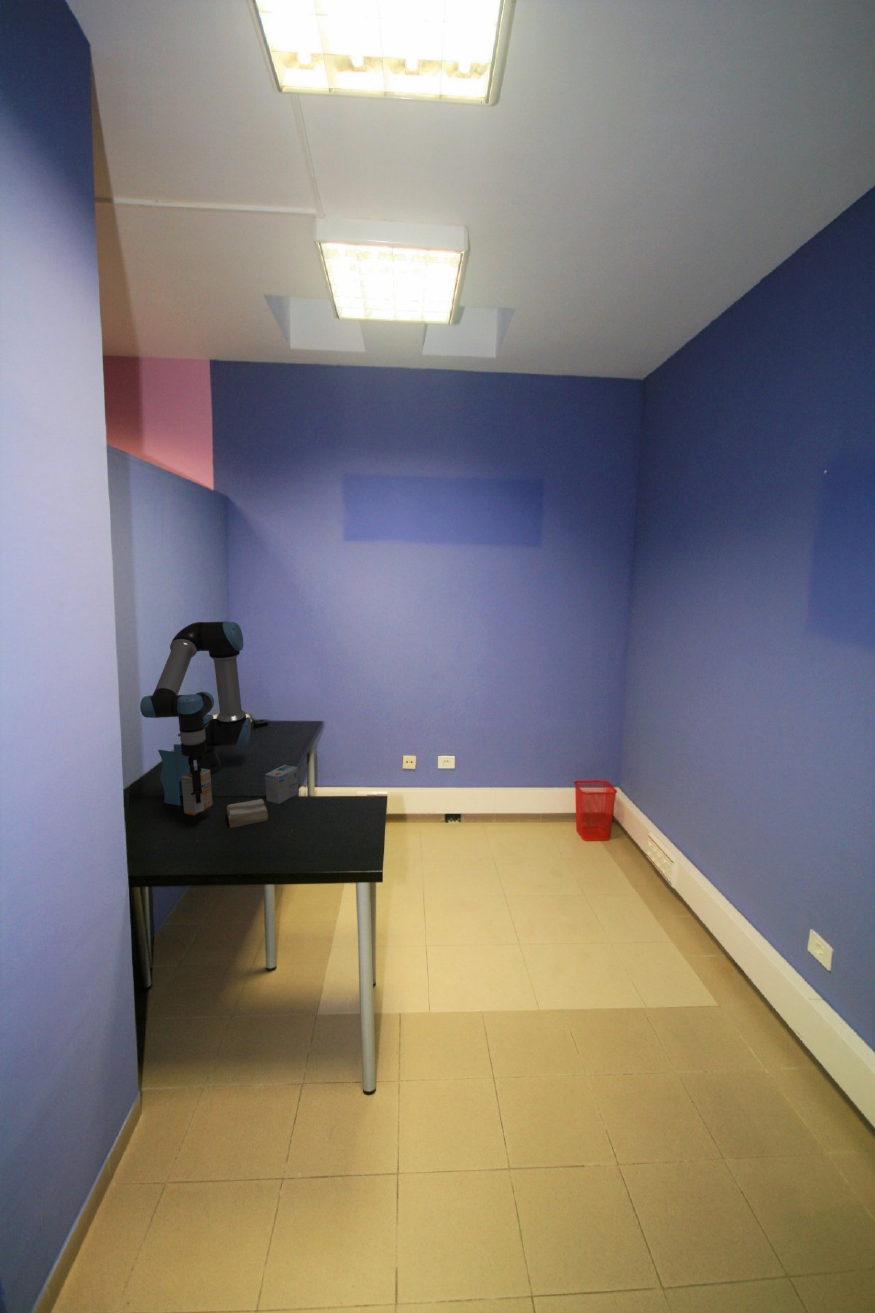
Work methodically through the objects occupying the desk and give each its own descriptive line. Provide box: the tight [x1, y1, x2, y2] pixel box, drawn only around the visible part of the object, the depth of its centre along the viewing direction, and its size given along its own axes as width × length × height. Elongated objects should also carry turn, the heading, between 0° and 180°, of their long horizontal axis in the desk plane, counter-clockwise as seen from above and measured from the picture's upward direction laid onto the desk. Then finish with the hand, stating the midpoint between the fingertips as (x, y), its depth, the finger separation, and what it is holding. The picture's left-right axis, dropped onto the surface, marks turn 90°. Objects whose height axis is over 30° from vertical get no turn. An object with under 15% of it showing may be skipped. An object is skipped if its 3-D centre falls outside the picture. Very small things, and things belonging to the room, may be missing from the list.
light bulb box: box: [264, 764, 299, 805], centre depth 195 cm, size 11×7×11 cm, turn 154°
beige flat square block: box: [226, 798, 269, 828], centre depth 179 cm, size 10×12×4 cm
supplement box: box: [181, 768, 213, 816], centre depth 175 cm, size 8×5×13 cm, turn 160°
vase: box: [157, 743, 190, 806], centre depth 192 cm, size 8×8×20 cm
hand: (198, 805), depth 176 cm, fingers closed on supplement box, 9 cm apart
